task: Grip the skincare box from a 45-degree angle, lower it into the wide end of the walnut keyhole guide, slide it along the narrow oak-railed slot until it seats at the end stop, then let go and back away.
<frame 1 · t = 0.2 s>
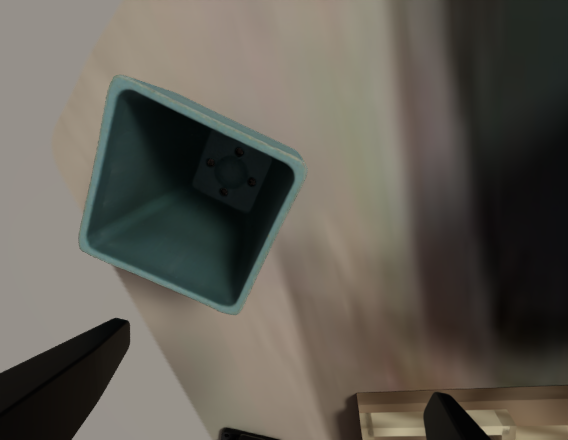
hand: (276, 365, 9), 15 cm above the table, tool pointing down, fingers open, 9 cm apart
flower pot: (234, 170, 22), on the table
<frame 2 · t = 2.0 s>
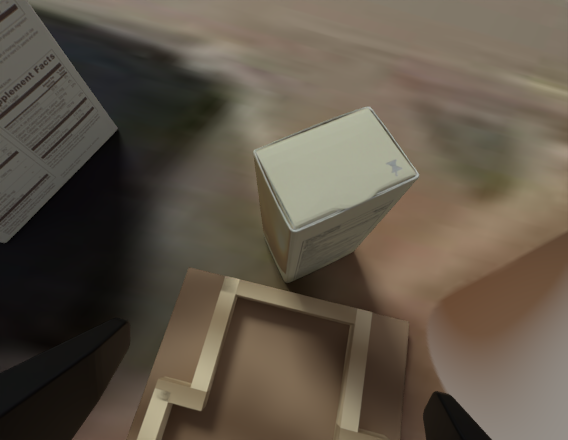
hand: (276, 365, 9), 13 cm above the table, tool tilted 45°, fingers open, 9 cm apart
supplement box: (13, 149, 27), on the table
skincare box: (306, 245, 24), on the table
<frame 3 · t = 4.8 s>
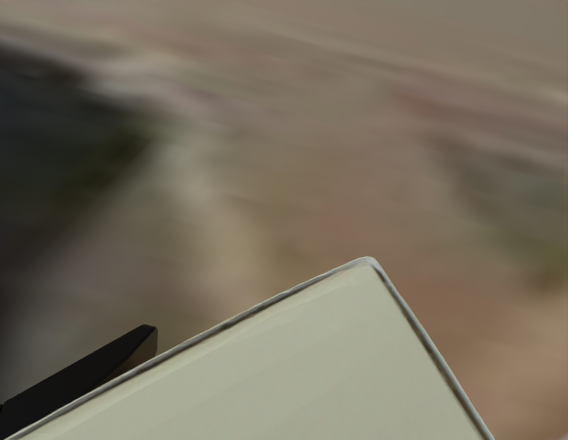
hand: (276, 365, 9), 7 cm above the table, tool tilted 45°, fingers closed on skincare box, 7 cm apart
skincare box: (266, 390, 15), on the table, touching gripper
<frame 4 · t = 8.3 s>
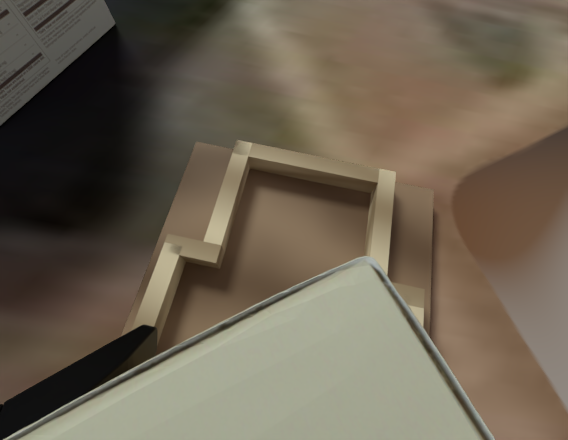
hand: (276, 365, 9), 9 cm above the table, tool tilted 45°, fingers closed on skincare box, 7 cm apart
keyhole guide: (282, 313, 18), on the table
supplement box: (3, 44, 25), on the table
skincare box: (267, 390, 15), point 2 cm above the table, touching gripper
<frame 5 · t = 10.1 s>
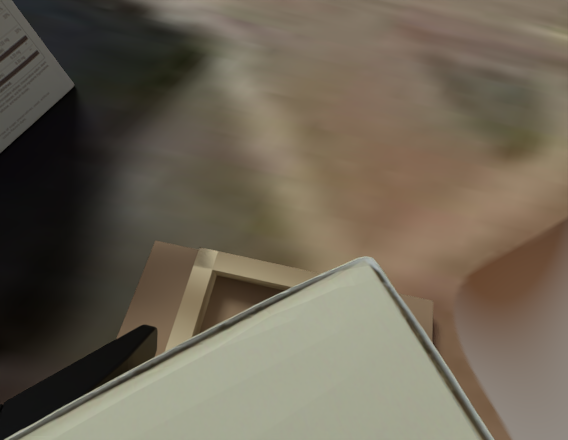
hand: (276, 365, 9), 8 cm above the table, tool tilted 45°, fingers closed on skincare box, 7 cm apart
skincare box: (267, 390, 15), point 2 cm above the table, touching gripper
when the fingers open (8 cm above the table, at t = 11.7 s): skincare box stays where it is, resting on keyhole guide.
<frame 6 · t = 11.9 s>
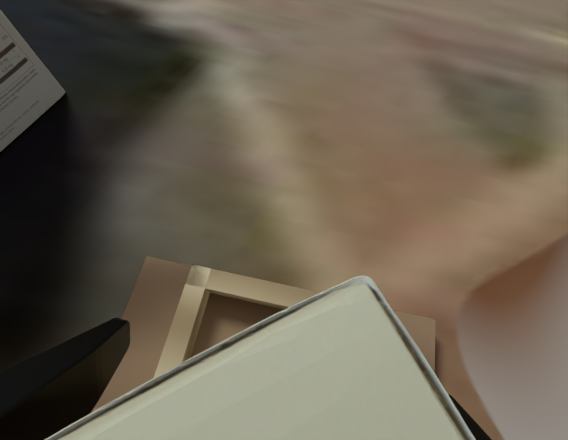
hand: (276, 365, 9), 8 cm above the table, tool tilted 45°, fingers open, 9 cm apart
skincare box: (266, 394, 15), point 1 cm above the table, touching keyhole guide
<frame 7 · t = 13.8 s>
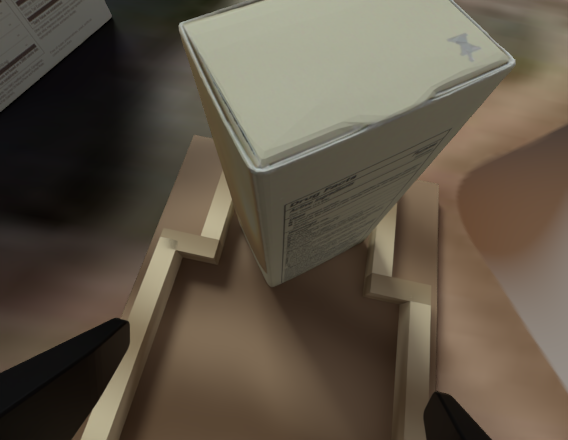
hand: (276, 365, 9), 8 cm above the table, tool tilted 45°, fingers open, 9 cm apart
keyhole guide: (282, 311, 17), on the table
skincare box: (299, 234, 18), point 1 cm above the table, touching keyhole guide
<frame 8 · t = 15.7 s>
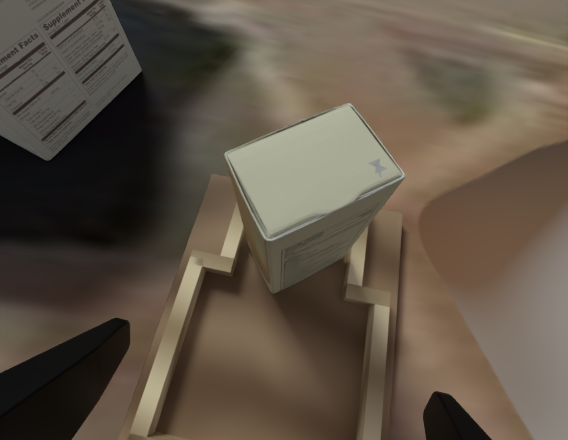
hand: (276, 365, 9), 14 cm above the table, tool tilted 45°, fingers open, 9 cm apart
keyhole guide: (281, 311, 23), on the table
supplement box: (49, 88, 30), on the table
skincare box: (293, 253, 23), point 1 cm above the table, touching keyhole guide
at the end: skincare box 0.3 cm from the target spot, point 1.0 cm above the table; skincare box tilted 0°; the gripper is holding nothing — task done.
